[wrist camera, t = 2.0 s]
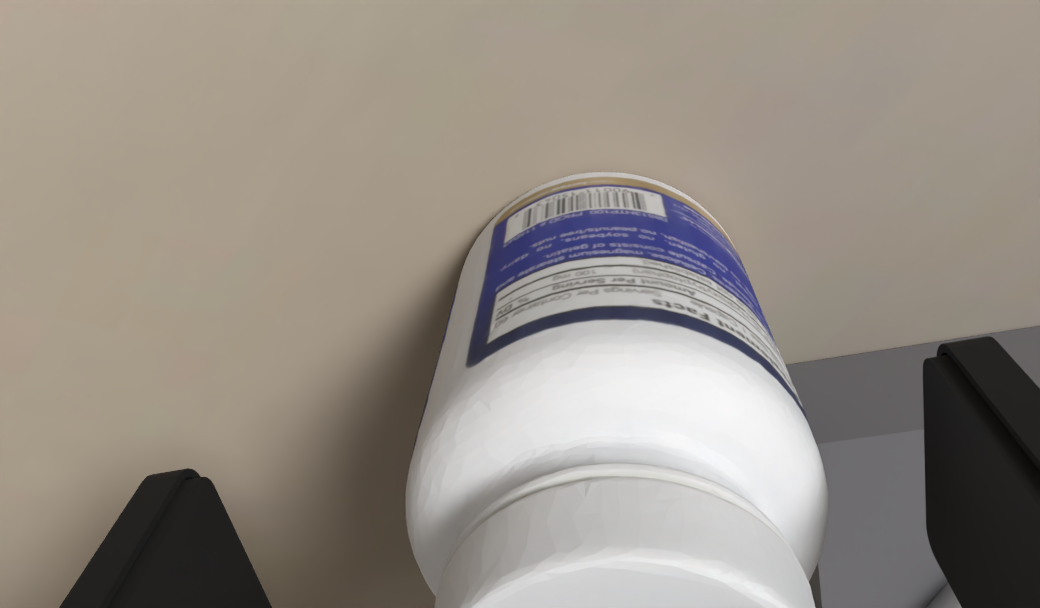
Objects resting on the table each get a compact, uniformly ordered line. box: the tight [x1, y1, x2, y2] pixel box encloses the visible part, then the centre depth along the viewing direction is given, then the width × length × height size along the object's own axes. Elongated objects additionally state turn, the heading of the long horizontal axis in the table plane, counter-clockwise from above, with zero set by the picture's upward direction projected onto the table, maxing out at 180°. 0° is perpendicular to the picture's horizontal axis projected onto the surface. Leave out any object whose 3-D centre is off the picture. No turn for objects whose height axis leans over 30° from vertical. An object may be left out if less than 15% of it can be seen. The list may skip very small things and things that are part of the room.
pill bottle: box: [406, 172, 828, 608], centre depth 12 cm, size 5×5×9 cm
